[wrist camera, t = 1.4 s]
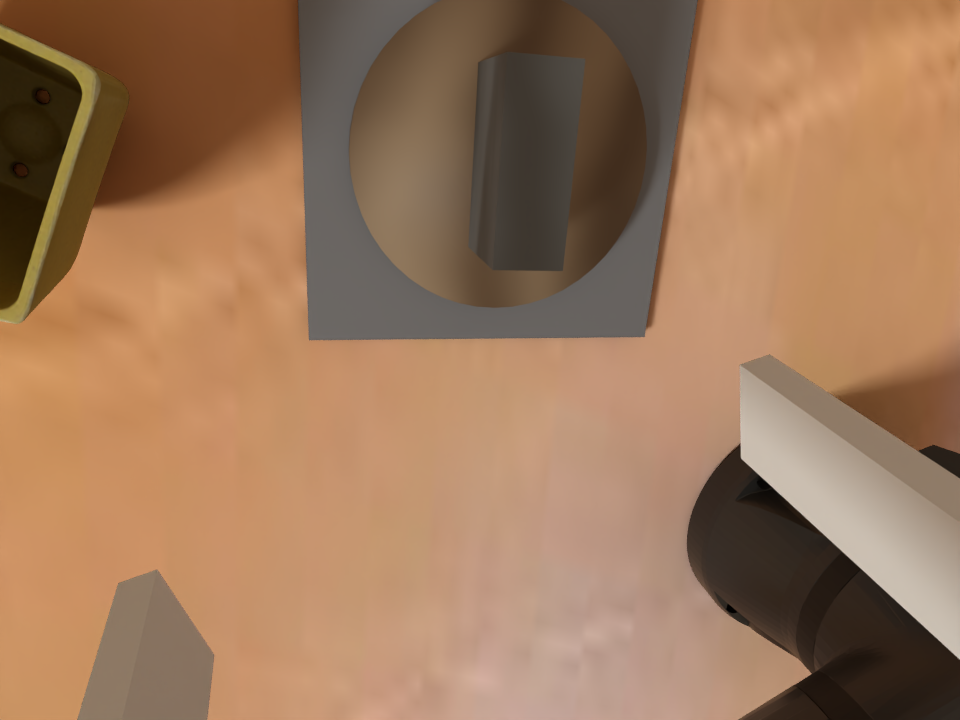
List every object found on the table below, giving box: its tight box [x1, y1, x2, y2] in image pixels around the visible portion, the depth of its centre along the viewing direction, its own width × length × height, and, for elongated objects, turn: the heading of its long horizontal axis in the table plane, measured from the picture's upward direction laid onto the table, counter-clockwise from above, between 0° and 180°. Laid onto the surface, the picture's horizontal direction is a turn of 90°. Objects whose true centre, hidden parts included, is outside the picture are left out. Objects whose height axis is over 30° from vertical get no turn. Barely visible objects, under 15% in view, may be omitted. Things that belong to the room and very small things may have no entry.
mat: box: [298, 0, 698, 340], centre depth 31 cm, size 18×18×1 cm
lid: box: [349, 0, 647, 308], centre depth 28 cm, size 14×14×6 cm
